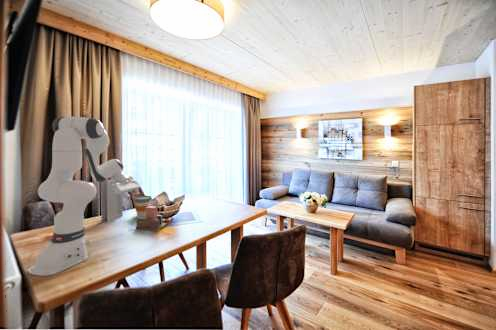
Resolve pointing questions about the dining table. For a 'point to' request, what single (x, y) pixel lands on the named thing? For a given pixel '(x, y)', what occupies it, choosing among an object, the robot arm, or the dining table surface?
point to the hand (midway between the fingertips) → (134, 195)
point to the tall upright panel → (110, 202)
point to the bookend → (159, 218)
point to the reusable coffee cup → (142, 205)
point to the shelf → (149, 224)
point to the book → (151, 212)
